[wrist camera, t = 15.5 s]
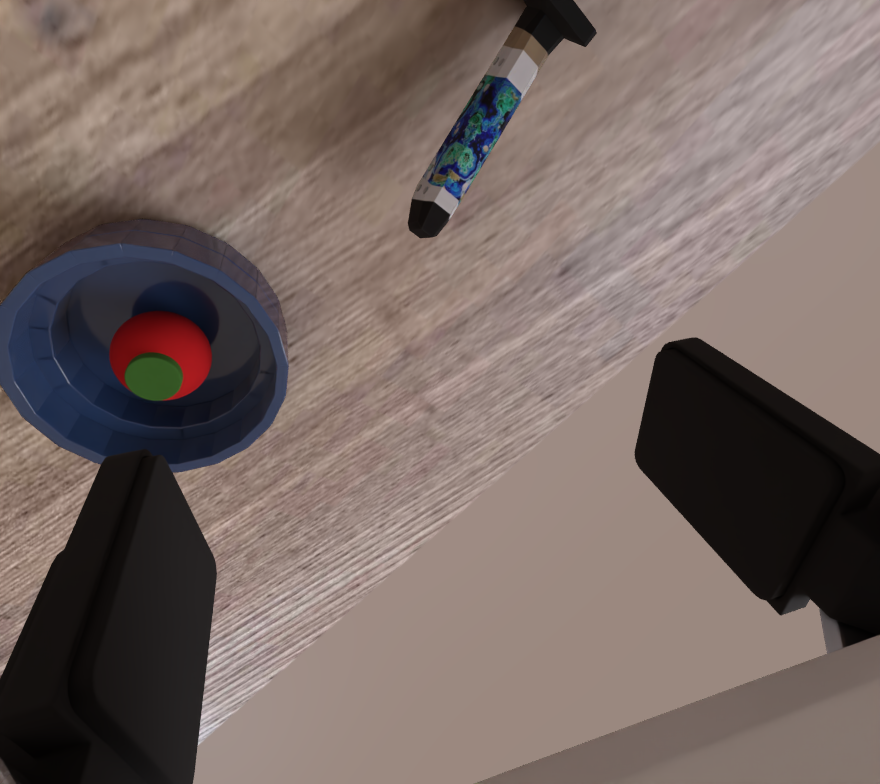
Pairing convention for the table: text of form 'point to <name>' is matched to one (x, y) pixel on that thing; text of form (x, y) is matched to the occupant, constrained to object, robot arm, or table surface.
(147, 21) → the table surface
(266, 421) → the bowl
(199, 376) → the strawberry
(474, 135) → the knife
